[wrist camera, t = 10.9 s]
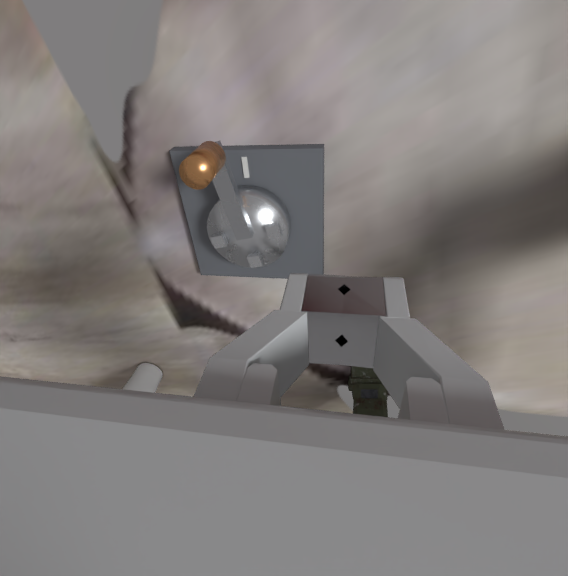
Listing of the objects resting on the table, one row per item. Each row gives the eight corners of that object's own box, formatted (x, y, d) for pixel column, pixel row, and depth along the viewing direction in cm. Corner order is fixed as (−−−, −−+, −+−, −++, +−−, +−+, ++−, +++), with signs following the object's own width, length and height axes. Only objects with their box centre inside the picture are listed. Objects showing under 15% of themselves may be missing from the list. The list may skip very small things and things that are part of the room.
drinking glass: (162, 384, 76) (127, 453, 64) (132, 371, 74) (91, 439, 63) (170, 368, 71) (134, 438, 60) (138, 354, 70) (95, 423, 59)
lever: (299, 249, 47) (289, 292, 40) (230, 260, 50) (210, 302, 43) (260, 118, 38) (238, 144, 31) (179, 141, 41) (141, 170, 34)
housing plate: (324, 144, 40) (323, 148, 39) (323, 273, 51) (322, 280, 50) (174, 146, 43) (168, 151, 42) (204, 269, 54) (200, 275, 53)
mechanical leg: (390, 409, 67) (409, 599, 40) (351, 408, 69) (344, 590, 42) (388, 347, 62) (408, 519, 35) (346, 348, 63) (334, 512, 37)
